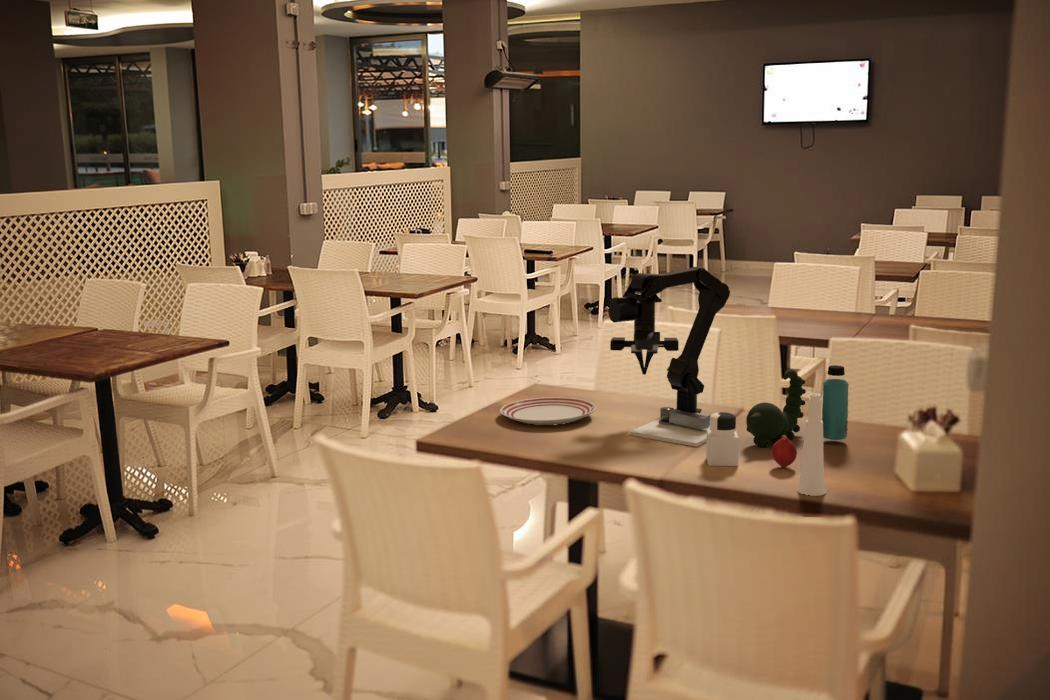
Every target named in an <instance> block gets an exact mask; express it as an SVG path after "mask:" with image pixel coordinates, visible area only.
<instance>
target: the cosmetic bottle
mask: <svg viewBox="0 0 1050 700" xmlns="http://www.w3.org/2000/svg"><path fill="white" fill-rule="evenodd" d="M821 395H822V394H820V393H810V394H809V398H808V400H807V401H808V404H807V406H808V407H807V419H806V420H805V425H804V435H803V436H804V437H803V445H802V446H803V448H802V459H801V468H800V475H799V482H798V485H797V489H796V491H797V492H798V493H799V494H801V495H803V494H805V495H804V496H808V495H810V496H809V497H820V496H824V495H825V494H826V493H827V489H826V481H825V473H824V472H825V471H824V469H825V468H824V438H823V421H822V420H821V419H822V405H823V399H821Z"/></svg>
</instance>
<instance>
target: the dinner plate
mask: <svg viewBox="0 0 1050 700" xmlns="http://www.w3.org/2000/svg"><path fill="white" fill-rule="evenodd" d="M596 409H597V406H596V404H595V403H593V402H591V401H589V400H585V399H582V398H581V399H580V398H575V397H559V396H558V397H556V396H555V397H554V396H550V397H549V396H548V397H537V398H536V397H534V398H526V399H521V400H517V401H516V400H515V401H513V402H509V403H507V404H505V405H503V406H502V407H500V409H499V413H500V415H502V416H503V417H504V416H505V417H507V418H508V419H511V420H513V421H517V422H518V423H519V422H520V423H522V422H523V423H522V424H525V423H528V424H527V425H530V424H537V425H536V426H539V425H554V424H563V423H568V422H572V421H574V422H576V421H578V420H581V419H583V418H586V417H588V416H589V415H591V414H593V413H594V412H595V411H596ZM572 423H573V422H572ZM568 424H569V423H568ZM563 425H564V424H563ZM554 426H555V425H554Z"/></svg>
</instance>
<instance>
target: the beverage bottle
mask: <svg viewBox="0 0 1050 700" xmlns="http://www.w3.org/2000/svg"><path fill="white" fill-rule="evenodd" d="M845 374H846V372H845V367H844V366H843V365H828V369H827V376H834V377H829V378H828V377H827V379H825V381H823V383H822V407H821V420H822V421H823V439H827V440H831V441H843V440H845V439H847V437H848V429H849V428H848V424H849V386H850V384H849V382H848V381H847V380H846V379H844V378H840V377H841V376H845Z"/></svg>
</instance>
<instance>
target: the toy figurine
mask: <svg viewBox="0 0 1050 700" xmlns="http://www.w3.org/2000/svg"><path fill="white" fill-rule="evenodd" d="M788 379H789V386H788V387H787V391H786V392H787V396H786V398H785V405H784V406H783V408H782V410H781V408H779V407H778V406H777V405H776V404H774V403H770V402H764V401H763V402H759V403H757V404H755V405H753V406H752V407H751V408H750V409H749V411H748V413H747V415H746V419H745V420H746V431H747V432H748V433H750V434H751V435H752V436H753V439H752V440H753V443H754V445H755V446H757V447H760V448H766V447H768V446H769V445H770V444H771V440H773V439H777V441H778V440H780V439H781V438H782V437H781V436H783V435H785V436H786V437H787V438H788V439H789V440H794V438H795V433H799V432H800V430H801V426H800V425H798V419H802V418H804V417H805V416H804V415H805V414H804V413H803V412H802V410H801V407H802V406H805V405H806V400H803V399H802V396H803V395H805V394H806V393H807V390H806V389H805V388H803V385H805V384H806V380H805V379H803V378H802V376H800V375H798V372H797V370H795V369H792V368H789V369H786V371H785V372H784V374H783V380H785V381H786V380H788Z"/></svg>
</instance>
